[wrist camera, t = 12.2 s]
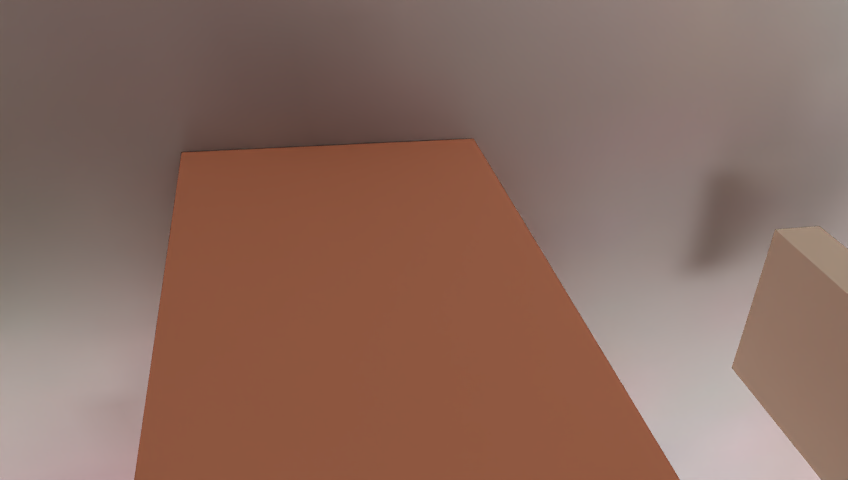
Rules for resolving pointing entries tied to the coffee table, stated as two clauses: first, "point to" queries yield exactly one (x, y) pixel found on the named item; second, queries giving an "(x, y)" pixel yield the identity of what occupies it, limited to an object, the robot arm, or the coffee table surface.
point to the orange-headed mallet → (373, 329)
